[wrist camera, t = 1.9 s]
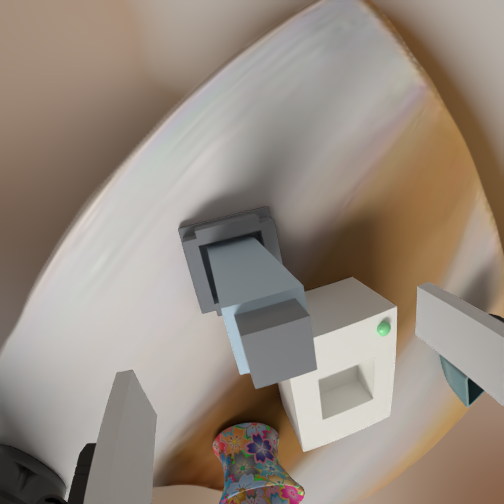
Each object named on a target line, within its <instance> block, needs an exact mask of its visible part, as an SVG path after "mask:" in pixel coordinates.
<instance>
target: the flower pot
mask: <svg viewBox="0 0 504 504" xmlns="http://www.w3.org/2000/svg"><path fill="white" fill-rule="evenodd" d="M440 359H441V364H442V368H443V371H444V374H445V377H446V379H447V382H448V383H449V385H450V387H451V388H452V390H453V391H454V392H455V394H456V395H457V396H458V397H459V399H460V400H461V401H462V402H463V403H464V405H465V406H466V407H467V408H469V407H470V406H471V405H472V404H473V403H474V402H475V401H476V400H477V399H478V398H479V397H480V396H481V395H482V394H483V393H484V392H485V390H483V389H482V388H481V387H480V386H479V385H477V384H476V383H475V382H474V381H473V380H471V379H470V378H469V377H468V376H466V375H465V374H464V373H463V372H462V371H460V370H459V369H458V368H457V367H455V366H454V365H453V364H452V363H450V362H449V361H448V360H447V359H445V358H444V357H443V356H442V355H440Z"/></svg>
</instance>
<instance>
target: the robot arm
mask: <svg viewBox="0 0 504 504" xmlns="http://www.w3.org/2000/svg"><path fill="white" fill-rule="evenodd" d="M415 335H416V336H418V337H419V338H420V339H421V340H423V341H424V342H425V343H427V344H428V345H429V346H430V347H432V348H433V349H434V350H435V351H437V352H438V353H439V354H440V355H442V356H443V357H444V358H445V359H447V360H448V361H449V362H450V363H452V364H453V365H454V366H455V367H457V368H458V369H459V370H460V371H462V372H463V373H464V374H465V375H466V376H468V377H469V378H470V379H471V380H473V381H474V382H475V383H476V384H477V385H479V386H480V387H481V388H482V389H483V390H485V391H486V392H487V393H488V394H489V395H491V396H492V397H493V398H494V399H495V400H497V401H498V402H499V403H500V404H501V405H503V406H504V318H502V317H500V316H497V315H493V314H487V313H485V312H484V311H482V310H480V309H478V308H476V307H475V306H473V305H471V304H469V303H467V302H466V301H464V300H462V299H460V298H458V297H456V296H455V295H453V294H451V293H449V292H447V291H445V290H443V289H441V288H440V287H438V286H436V285H434V284H432V283H430V282H427V283H424V284H422V285H420V286H417V312H416V329H415ZM156 419H157V414H156V413H155V411H154V409H153V407H152V406H151V404H150V402H149V400H148V398H147V396H146V395H145V393H144V391H143V389H142V387H141V385H140V383H139V381H138V379H137V377H136V375H135V373H134V371H133V370H129V371H123V372H117V373H116V377H115V380H114V383H113V386H112V389H111V393H110V396H109V399H108V403H107V406H106V410H105V413H104V417H103V421H102V424H101V428H100V432H99V436H98V439H97V443H89V444H86V446H85V447H84V448H83V450H82V451H81V452H80V454H79V458H78V462H77V467H76V469H75V475H74V477H73V481H72V485H71V489H70V493H69V498H68V502H66V501H65V500H64V498H65V494H66V487H65V485H64V483H63V482H62V480H61V479H60V478H59V477H58V476H57V475H56V474H55V473H54V472H53V471H51V470H50V469H49V468H48V467H46V466H45V465H43V464H42V463H41V462H39V461H38V460H36V459H34V458H33V457H31V456H29V455H27V454H26V453H24V452H22V451H19V450H17V449H15V448H12V447H9V446H5V445H0V504H152V483H153V462H154V445H155V432H156Z"/></svg>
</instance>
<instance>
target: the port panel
mask: <svg viewBox="0 0 504 504" xmlns="http://www.w3.org/2000/svg"><path fill="white" fill-rule="evenodd" d="M304 293H305V299H306V306H307V312H308V314H309V315H310V318H311V325H312V332H313V340H314V347H315V355H316V363H317V370H315V371H312V372H309V373H306V374H303V375H300V376H297V377H294V378H291V379H288V380H285V381H282V382H278V386H279V391H280V395H281V400H282V404H283V407H284V409H285V411H286V414H287V416H288V418H289V420H290V423H291V425H292V427H293V430H294V432H295V434H296V436H297V439H298V441H299V443H300V445H301V448H302V450H303V452H306V451H309V450H312V449H314V448H317V447H320V446H323V445H325V444H328V443H330V442H333V441H336V440H338V439H341V438H343V437H345V436H348V435H350V434H353V433H355V432H357V431H359V430H362V429H364V428H366V427H368V426H370V425H373V424H375V423H377V422H379V421H381V420H383V419H385V418H387V417H389V416H390V410H391V402H392V393H393V382H394V370H395V356H396V334H397V306H396V305H394V304H393V303H391V302H390V301H388V300H387V299H385V298H384V297H382V296H381V295H379V294H378V293H376V292H375V291H373V290H372V289H370V288H369V287H367V286H366V285H364V284H363V283H361V282H360V281H358V280H357V279H355V278H354V277H350V278H347V279H344V280H341V281H338V282H335V283H331V284H328V285H325V286H322V287H319V288H315V289H312V290H309V291H305V292H304Z"/></svg>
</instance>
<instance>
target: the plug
mask: <svg viewBox="0 0 504 504" xmlns="http://www.w3.org/2000/svg"><path fill="white" fill-rule="evenodd" d="M207 251H208V255H209V260H210V264H211V269H212V273H213V278H214V282H215V286H216V291H217V295H218V299H219V304H220V308H221V311H222V315H223V318H224V322H225V325H226V329H227V332H228V336H229V339H230V343H231V346H232V349H233V353H234V356H235V359H236V363H237V366H238V369H239V372H240V375H242V374H246V373H250V374H251V377H252V380H253V383H254V386H255V389H258V388H262V387H265V386H268V385H272V384H275V383H278V382H282V381H285V380H288V379H291V378H294V377H297V376H300V375H303V374H306V373H309V372H312V371H315V370H317V363H316V355H315V347H314V340H313V332H312V325H311V318H310V315H309V314H308V312H307V306H306V299H305V293H304V286H303V285H302V284H301V283H300V282H299V281H298V280H297V279H296V278H295V277H294V276H293V275H292V274H291V273H290V272H289V271H288V270H287V269H286V268H285V267H284V266H283V265H282V264H281V263H280V262H279V261H278V260H277V259H276V258H275V257H274V256H273V255H272V254H271V253H270V252H269V251H268V250H267V249H266V248H265V247H264V246H262V245H261V244H260V243H259V242H258V241H257V240H256V239H255V238H254V237H253V236H252V235H248V236H244V237H240V238H236V239H232V240H228V241H224V242H220V243H216V244H212V245H208V246H207Z"/></svg>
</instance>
